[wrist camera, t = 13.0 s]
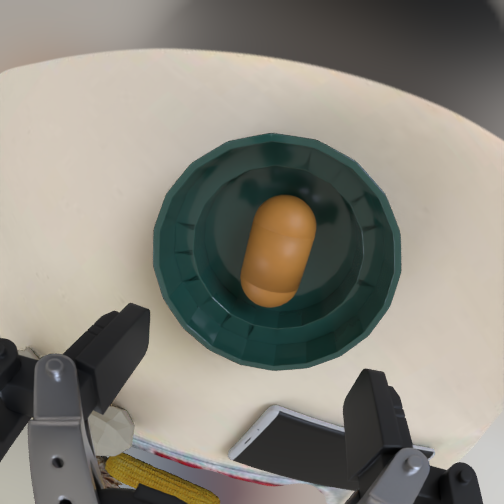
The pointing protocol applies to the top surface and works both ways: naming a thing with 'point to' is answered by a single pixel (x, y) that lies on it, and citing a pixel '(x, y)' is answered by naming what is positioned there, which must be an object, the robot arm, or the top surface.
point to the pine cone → (107, 478)
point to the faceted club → (105, 426)
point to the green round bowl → (236, 239)
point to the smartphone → (298, 448)
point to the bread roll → (277, 250)
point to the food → (157, 479)
